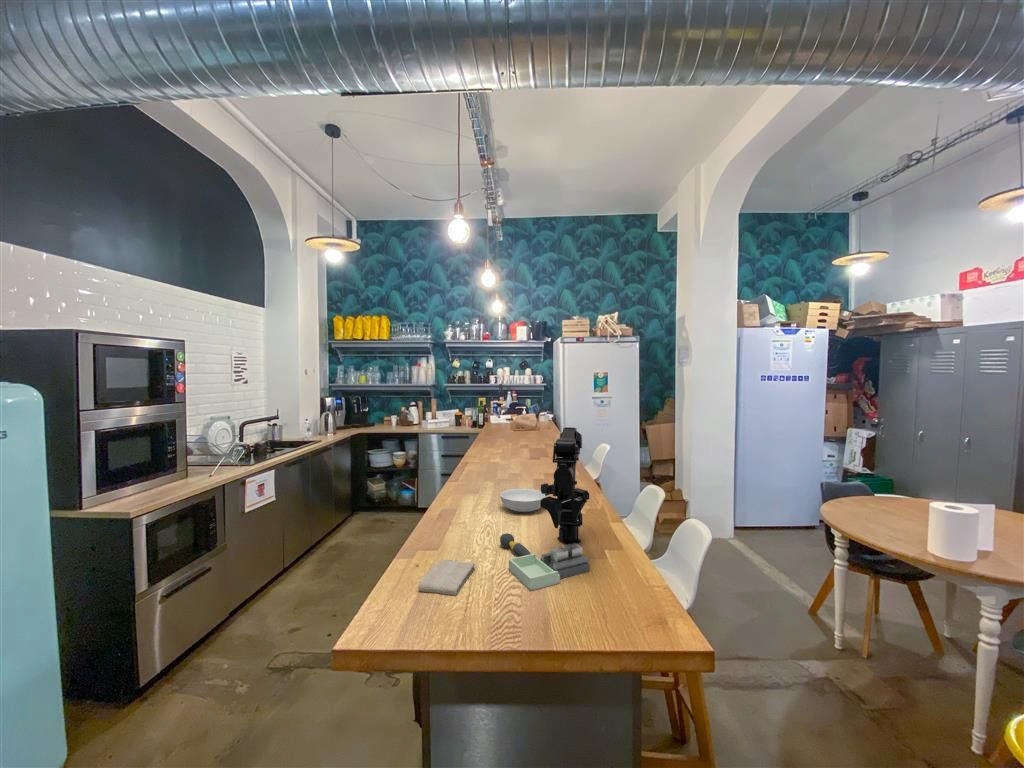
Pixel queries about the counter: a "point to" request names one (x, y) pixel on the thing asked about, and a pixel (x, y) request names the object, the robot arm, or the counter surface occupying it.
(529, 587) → the chip tray
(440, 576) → the washcloth
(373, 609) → the counter surface
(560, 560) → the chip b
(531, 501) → the serving bowl
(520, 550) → the paintbrush
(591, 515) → the counter surface
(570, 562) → the slot board
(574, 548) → the grey cube
